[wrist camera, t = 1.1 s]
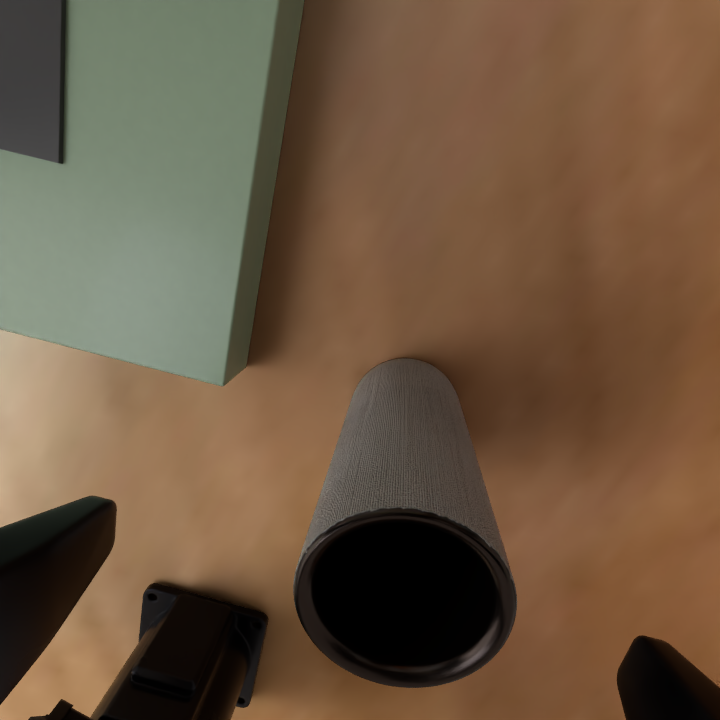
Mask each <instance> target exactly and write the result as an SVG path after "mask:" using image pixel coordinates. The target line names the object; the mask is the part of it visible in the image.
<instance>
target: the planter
mask: <svg viewBox="0 0 720 720" xmlns="http://www.w3.org/2000/svg"><path fill="white" fill-rule="evenodd" d="M293 594H294V602H295V607H296V611H297V614H298V617H299V619H300V622H301V624H302V626H303V628H304V630H305V631H306V633H307V635H308V636H309V637H310V639H311V640H312V642H313V643H314V644H315V645H316V646H317V648H318V649H319V650H320V651H321V652H322V653H323V654H324V655H326V656H327V657H328V658H329V659H330V660H332V661H333V662H334V663H336V664H337V665H339V666H340V667H342V668H343V669H345V670H347V671H349V672H350V673H352V674H354V675H357V676H359V677H361V678H364V679H366V680H369V681H372V682H376V683H379V684H384V685H389V686H395V687H406V688H421V687H431V686H437V685H442V684H446V683H450V682H453V681H456V680H459V679H461V678H464V677H466V676H468V675H470V674H472V673H473V672H475V671H477V670H478V669H480V668H481V667H483V666H484V665H485V664H487V663H488V662H489V661H490V660H491V659H492V658H493V657H494V656H495V655H496V654H497V653H498V652H499V651H500V649H501V648H502V647H503V645H504V644H505V642H506V640H507V639H508V637H509V635H510V633H511V630H512V627H513V625H514V621H515V616H516V610H517V595H516V588H515V584H514V580H513V576H512V572H511V569H510V566H509V562H508V559H507V556H506V552H505V549H504V546H503V543H502V539H501V536H500V533H499V529H498V526H497V523H496V520H495V516H494V513H493V510H492V507H491V503H490V500H489V497H488V493H487V490H486V487H485V484H484V480H483V477H482V474H481V470H480V467H479V464H478V461H477V457H476V454H475V451H474V448H473V444H472V441H471V438H470V434H469V431H468V428H467V425H466V421H465V418H464V415H463V412H462V408H461V405H460V402H459V399H458V396H457V394H456V391H455V389H454V387H453V385H452V384H451V382H450V381H449V379H448V378H447V377H446V376H445V375H444V374H443V373H442V372H441V371H440V370H438V369H437V368H436V367H434V366H432V365H430V364H428V363H426V362H423V361H420V360H416V359H407V358H401V359H394V360H389V361H386V362H383V363H381V364H379V365H377V366H376V367H374V368H373V369H371V370H370V371H369V372H368V373H367V374H366V375H365V376H364V377H363V378H362V379H361V381H360V382H359V384H358V386H357V388H356V390H355V392H354V394H353V396H352V399H351V402H350V405H349V409H348V412H347V415H346V418H345V421H344V424H343V427H342V430H341V433H340V436H339V439H338V442H337V445H336V448H335V451H334V454H333V457H332V460H331V463H330V466H329V469H328V472H327V475H326V478H325V481H324V484H323V488H322V491H321V494H320V497H319V500H318V503H317V506H316V509H315V512H314V515H313V518H312V521H311V524H310V527H309V530H308V533H307V536H306V539H305V542H304V545H303V548H302V551H301V555H300V558H299V561H298V564H297V568H296V572H295V576H294V585H293Z"/></svg>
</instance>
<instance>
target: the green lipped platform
mask: <svg viewBox="0 0 720 720" xmlns="http://www.w3.org/2000/svg"><path fill="white" fill-rule="evenodd" d="M303 6H304V0H0V329H1V330H5V331H9V332H13V333H17V334H21V335H24V336H28V337H32V338H36V339H40V340H44V341H48V342H52V343H56V344H59V345H63V346H67V347H71V348H75V349H79V350H83V351H87V352H91V353H94V354H98V355H102V356H106V357H110V358H114V359H118V360H122V361H126V362H129V363H133V364H137V365H141V366H145V367H149V368H153V369H157V370H161V371H164V372H168V373H172V374H176V375H180V376H184V377H188V378H192V379H195V380H199V381H203V382H207V383H211V384H215V385H219V386H225V385H226V384H227V383H228V382H229V381H230V380H232V379H233V378H234V377H235V376H236V375H237V374H239V373H240V372H241V371H242V370H243V369H244V368H246V365H247V359H248V353H249V346H250V340H251V334H252V327H253V321H254V315H255V309H256V302H257V296H258V290H259V283H260V277H261V271H262V264H263V258H264V252H265V246H266V239H267V233H268V227H269V220H270V214H271V208H272V202H273V195H274V189H275V183H276V176H277V170H278V164H279V158H280V151H281V145H282V139H283V132H284V126H285V120H286V113H287V107H288V101H289V95H290V88H291V82H292V76H293V69H294V63H295V57H296V51H297V44H298V38H299V32H300V25H301V19H302V13H303Z"/></svg>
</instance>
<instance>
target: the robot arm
mask: <svg viewBox="0 0 720 720" xmlns="http://www.w3.org/2000/svg"><path fill="white" fill-rule="evenodd" d="M116 512H117V507H116V503H115V502H114V501H112V500H109V499H105V498H102V497H98V496H88V497H85V498H82V499H79V500H76V501H74V502H71V503H68V504H65V505H62V506H60V507H57V508H54V509H51V510H48V511H46V512H43V513H40V514H37V515H34V516H32V517H29V518H26V519H23V520H20V521H18V522H15V523H12V524H9V525H6V526H4V527H1V528H0V705H1V703H2V702H3V701H4V700H5V698H6V697H7V696H8V695H9V693H10V692H11V691H12V690H13V688H14V687H15V686H16V685H17V684H18V682H19V681H20V680H21V679H22V677H23V676H24V675H25V674H26V672H27V671H28V670H29V669H30V667H31V666H32V665H33V664H34V662H35V661H36V660H37V659H38V657H39V656H40V655H41V653H42V652H43V651H44V650H45V648H46V647H47V646H48V644H49V643H50V642H51V640H52V639H53V637H54V636H55V634H56V633H57V632H58V630H59V629H60V627H61V626H62V624H63V623H64V621H65V620H66V618H67V617H68V615H69V614H70V612H71V611H72V609H73V608H74V606H75V605H76V603H77V602H78V600H79V599H80V597H81V596H82V594H83V593H84V591H85V590H86V588H87V587H88V585H89V584H90V582H91V581H92V579H93V578H94V576H95V575H96V573H97V572H98V570H99V569H100V567H101V566H102V564H103V563H104V561H105V560H106V558H107V557H108V555H109V554H110V552H111V550H112V547H113V545H114V540H115V527H116ZM267 625H268V617H267V616H266V615H265V614H264V613H262V612H260V611H256V610H253V609H249V608H245V607H242V606H238V605H234V604H231V603H227V602H223V601H220V600H216V599H212V598H209V597H205V596H201V595H198V594H194V593H190V592H187V591H183V590H179V589H176V588H172V587H168V586H165V585H161V584H157V583H153V584H150V585H149V586H148V588H147V589H146V590H145V592H144V594H143V603H142V614H141V624H140V634H139V643H138V645H137V646H136V648H135V649H134V651H133V652H132V654H131V655H130V657H129V659H128V660H127V662H126V663H125V665H124V666H123V668H122V669H121V671H120V672H119V674H118V675H117V677H116V679H115V680H114V682H113V683H112V685H111V686H110V688H109V689H108V691H107V692H106V694H105V695H104V697H103V699H102V700H101V702H100V703H99V705H98V706H97V708H96V709H95V711H94V712H93V714H92V716H91V717H90V718H89V717H87V716H86V715H84V714H82V713H80V712H78V711H76V710H75V709H73V708H72V707H73V705H72V704H70V703H68V702H66V701H65V700H63V699H61V700H60V701H59V703H58V704H57V705H56V707H55V708H54V709H53V710H52V712H51V713H50V714H49V715H48V714H47V715H46V716H36V717H30V718H29V720H231V717H232V714H233V712H234V709H235V706H237V707H242V708H244V707H247V706H248V705H249V704H250V701H251V698H252V694H253V690H254V685H255V680H256V676H257V671H258V666H259V662H260V657H261V653H262V648H263V643H264V639H265V634H266V629H267ZM617 686H618V690H619V694H620V698H621V702H622V706H623V710H624V713H625V717H626V720H720V688H719V687H718V686H717V685H716V684H715V683H713V682H712V681H711V680H710V679H709V678H708V677H707V676H705V675H704V674H703V673H702V672H701V671H700V670H699V669H697V668H696V667H695V666H694V665H693V664H692V663H691V662H689V661H688V660H687V659H686V658H685V657H684V656H683V655H681V654H680V653H679V652H678V651H677V650H676V649H675V648H673V647H672V646H671V645H670V644H669V643H667V642H665V641H663V640H659V639H655V638H651V637H647V636H638V637H636V638H635V639H634V640H633V642H632V644H631V646H630V648H629V650H628V652H627V653H626V655H625V657H624V659H623V661H622V663H621V665H620V667H619V669H618V673H617Z"/></svg>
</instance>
